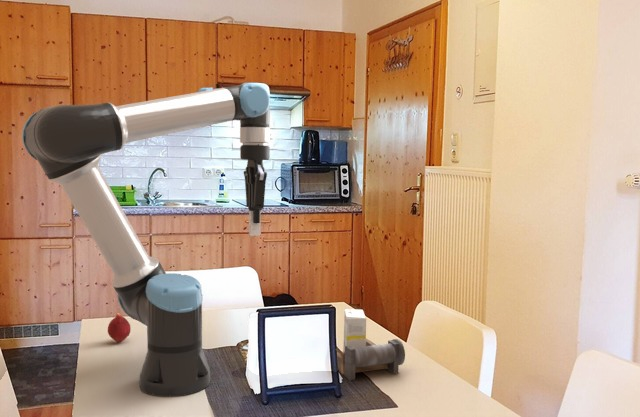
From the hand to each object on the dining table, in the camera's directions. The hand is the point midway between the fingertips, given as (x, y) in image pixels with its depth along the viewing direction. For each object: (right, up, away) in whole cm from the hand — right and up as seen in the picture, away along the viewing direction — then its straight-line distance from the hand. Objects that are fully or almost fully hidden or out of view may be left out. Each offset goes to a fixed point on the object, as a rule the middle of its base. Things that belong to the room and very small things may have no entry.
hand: (254, 235), depth 159 cm
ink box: (+25, -31, -8) cm, 41 cm away
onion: (-37, -29, +4) cm, 47 cm away
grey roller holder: (+26, -31, -10) cm, 42 cm away
